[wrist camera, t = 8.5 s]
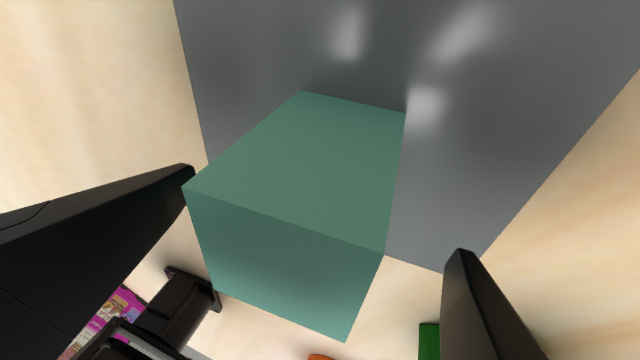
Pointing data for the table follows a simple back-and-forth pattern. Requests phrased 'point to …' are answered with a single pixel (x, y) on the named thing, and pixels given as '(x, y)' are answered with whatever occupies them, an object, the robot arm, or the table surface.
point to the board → (424, 92)
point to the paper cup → (319, 357)
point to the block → (301, 209)
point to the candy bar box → (108, 318)
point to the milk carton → (429, 342)
